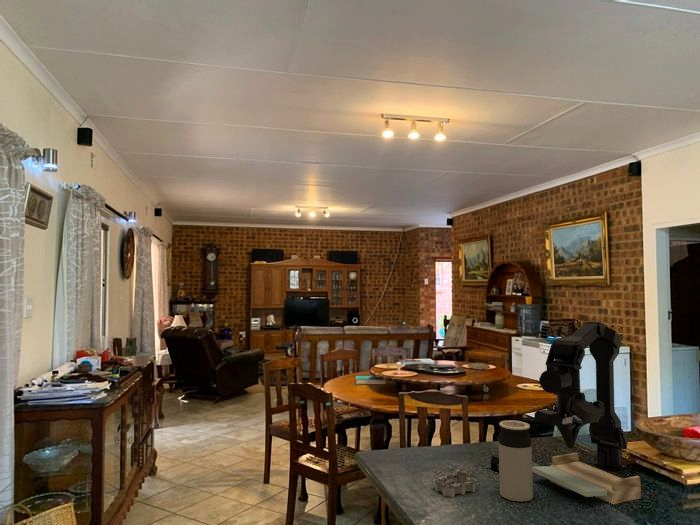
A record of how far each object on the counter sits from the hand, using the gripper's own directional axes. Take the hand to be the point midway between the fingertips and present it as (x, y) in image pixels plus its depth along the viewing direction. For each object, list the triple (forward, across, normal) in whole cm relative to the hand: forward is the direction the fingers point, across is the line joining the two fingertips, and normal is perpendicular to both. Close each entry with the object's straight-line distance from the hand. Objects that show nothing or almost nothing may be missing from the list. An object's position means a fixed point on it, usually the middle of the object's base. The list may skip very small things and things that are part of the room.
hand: (570, 448), depth 127 cm
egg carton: (+11, -27, +12) cm, 32 cm away
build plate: (+12, -8, +19) cm, 24 cm away
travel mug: (+11, -16, +3) cm, 19 cm away
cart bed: (+11, +8, 0) cm, 13 cm away
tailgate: (+8, +2, 0) cm, 8 cm away
